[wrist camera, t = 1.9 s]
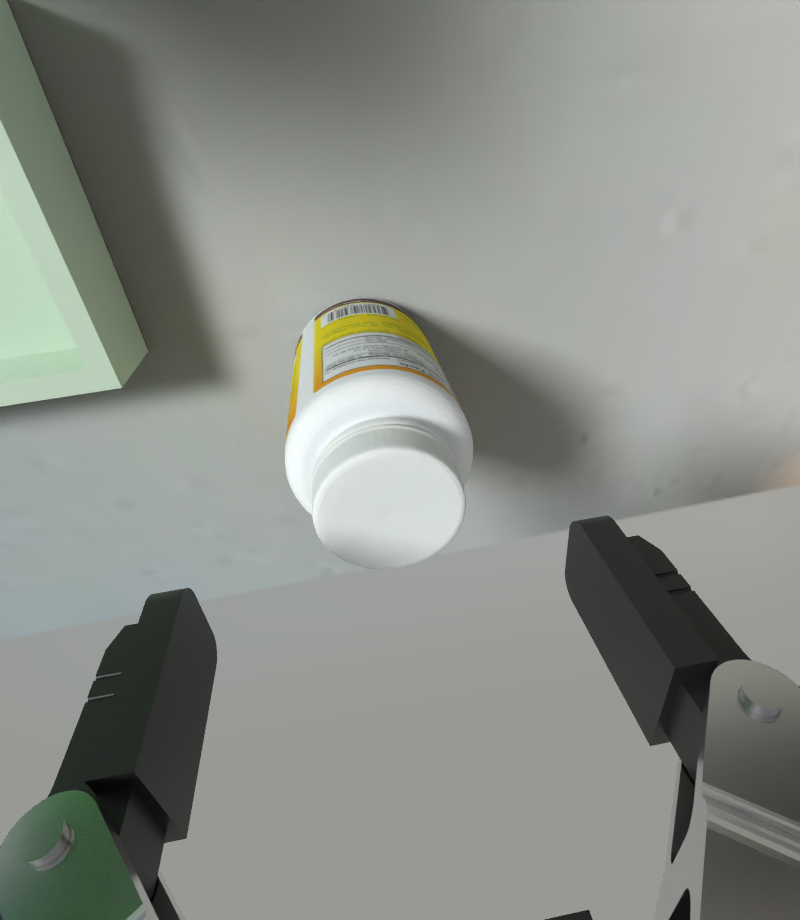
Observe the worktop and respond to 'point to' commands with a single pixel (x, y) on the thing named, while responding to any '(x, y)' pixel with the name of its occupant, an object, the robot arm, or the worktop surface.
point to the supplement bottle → (375, 436)
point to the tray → (52, 255)
